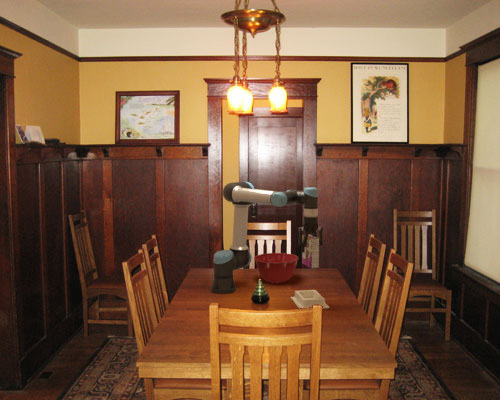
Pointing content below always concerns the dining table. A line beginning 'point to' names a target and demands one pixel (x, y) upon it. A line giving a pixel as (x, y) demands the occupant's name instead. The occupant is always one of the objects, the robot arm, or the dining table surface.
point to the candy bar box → (311, 252)
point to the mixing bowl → (276, 266)
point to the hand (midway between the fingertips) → (310, 258)
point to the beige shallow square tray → (308, 299)
